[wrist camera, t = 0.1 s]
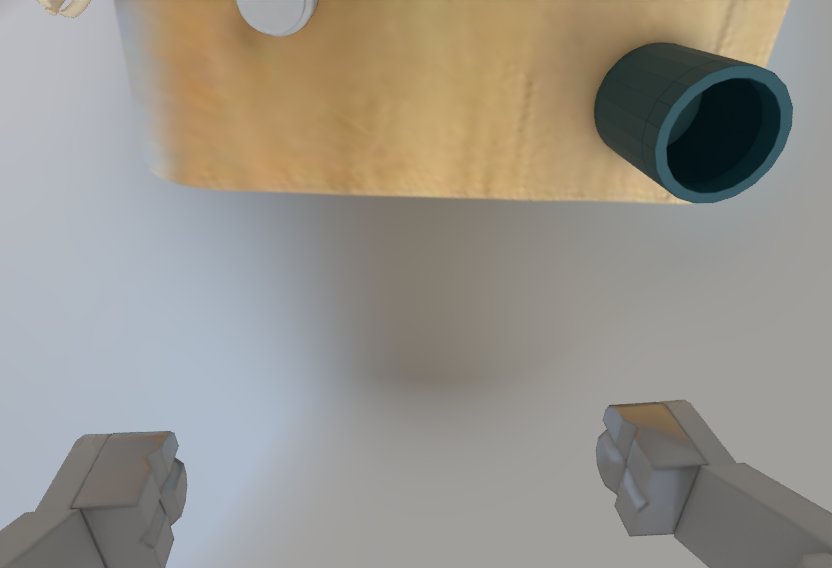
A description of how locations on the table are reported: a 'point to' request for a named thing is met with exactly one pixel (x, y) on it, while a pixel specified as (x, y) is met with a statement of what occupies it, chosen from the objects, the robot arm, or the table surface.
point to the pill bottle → (277, 15)
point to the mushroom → (70, 11)
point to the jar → (694, 119)
